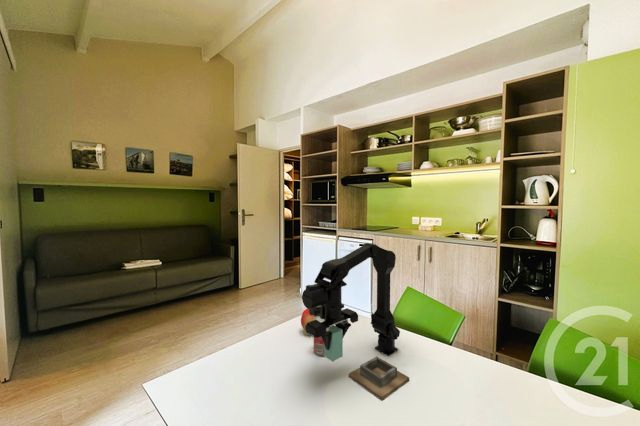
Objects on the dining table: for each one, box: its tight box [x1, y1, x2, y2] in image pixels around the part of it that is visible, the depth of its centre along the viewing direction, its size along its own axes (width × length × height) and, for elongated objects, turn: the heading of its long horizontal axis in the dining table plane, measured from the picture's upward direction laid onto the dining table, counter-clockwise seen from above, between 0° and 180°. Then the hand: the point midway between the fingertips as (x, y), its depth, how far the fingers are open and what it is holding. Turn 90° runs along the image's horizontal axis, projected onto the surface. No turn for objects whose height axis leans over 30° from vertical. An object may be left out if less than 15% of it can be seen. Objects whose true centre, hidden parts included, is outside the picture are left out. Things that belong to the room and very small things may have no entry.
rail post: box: [323, 325, 344, 362], centre depth 91 cm, size 4×4×9 cm
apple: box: [300, 308, 317, 331], centre depth 122 cm, size 10×10×10 cm
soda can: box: [312, 316, 325, 357], centre depth 107 cm, size 7×7×13 cm
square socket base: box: [347, 356, 410, 401], centre depth 91 cm, size 14×14×4 cm
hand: (333, 346), depth 91 cm, fingers closed on rail post, 4 cm apart
